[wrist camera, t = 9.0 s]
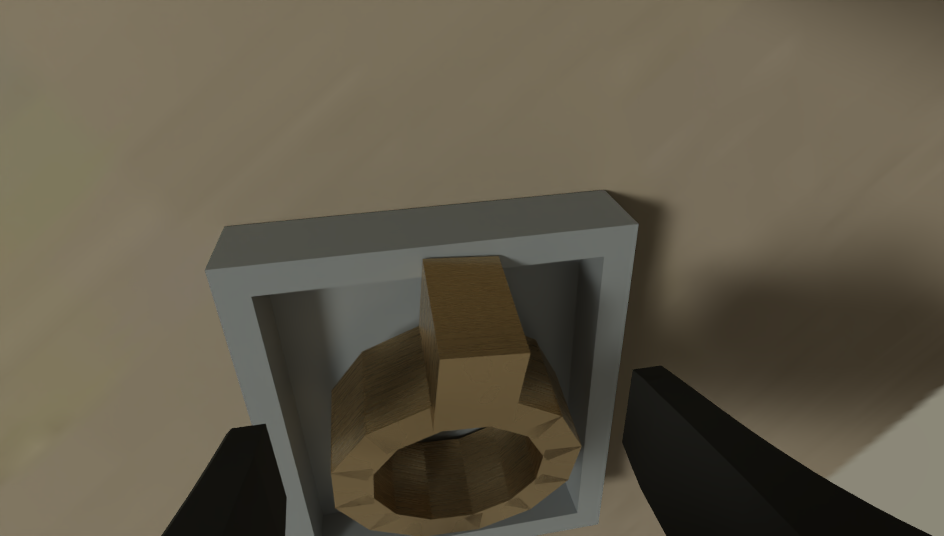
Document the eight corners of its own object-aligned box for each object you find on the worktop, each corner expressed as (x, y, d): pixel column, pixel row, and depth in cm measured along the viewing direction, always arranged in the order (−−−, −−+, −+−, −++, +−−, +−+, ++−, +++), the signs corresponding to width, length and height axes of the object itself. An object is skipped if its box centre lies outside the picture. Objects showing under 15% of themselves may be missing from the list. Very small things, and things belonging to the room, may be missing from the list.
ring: (339, 468, 18) (339, 565, 16) (318, 262, 13) (314, 368, 10) (532, 447, 19) (557, 535, 17) (590, 252, 14) (638, 345, 12)
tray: (303, 519, 20) (298, 578, 18) (224, 226, 14) (204, 270, 12) (576, 472, 21) (598, 524, 19) (604, 190, 16) (638, 224, 14)
